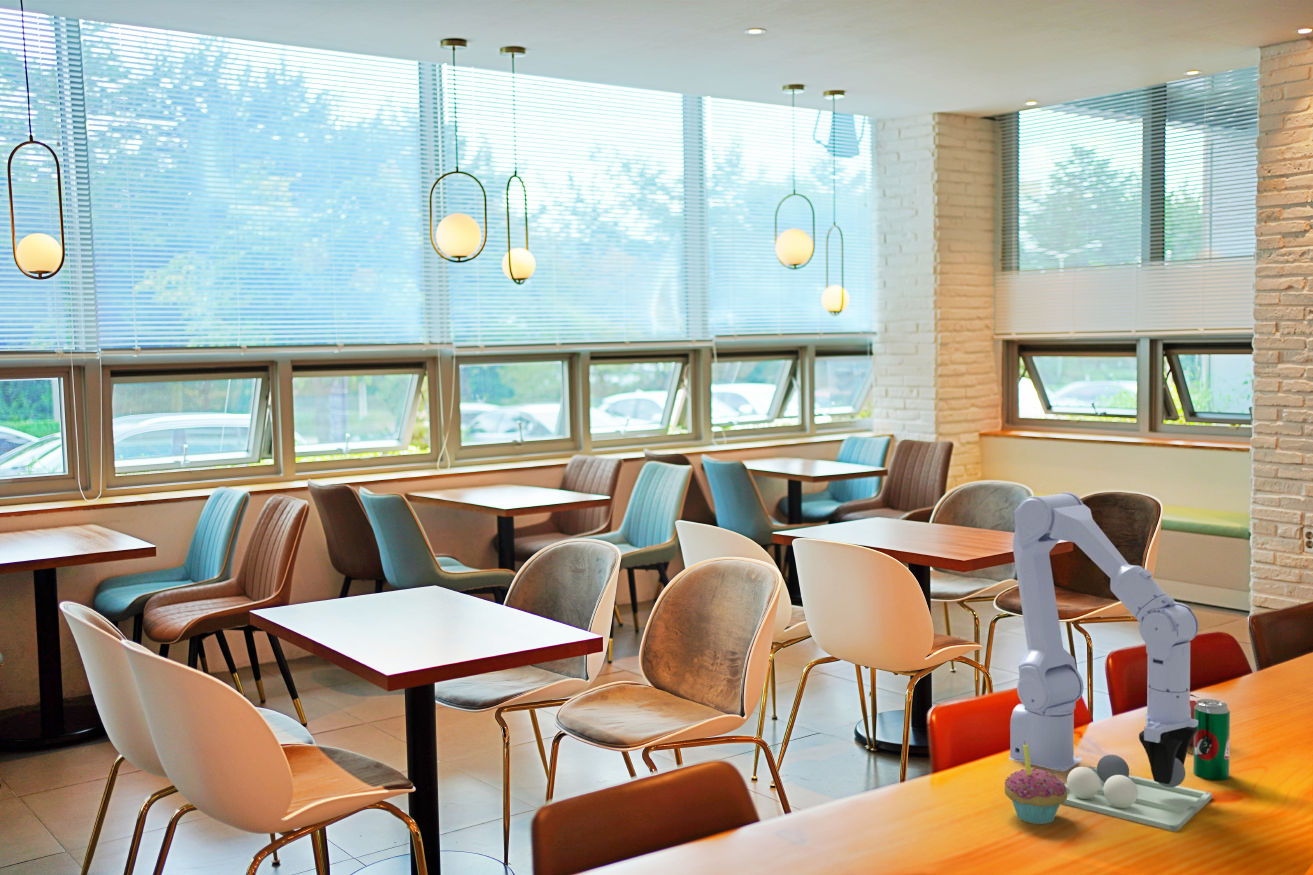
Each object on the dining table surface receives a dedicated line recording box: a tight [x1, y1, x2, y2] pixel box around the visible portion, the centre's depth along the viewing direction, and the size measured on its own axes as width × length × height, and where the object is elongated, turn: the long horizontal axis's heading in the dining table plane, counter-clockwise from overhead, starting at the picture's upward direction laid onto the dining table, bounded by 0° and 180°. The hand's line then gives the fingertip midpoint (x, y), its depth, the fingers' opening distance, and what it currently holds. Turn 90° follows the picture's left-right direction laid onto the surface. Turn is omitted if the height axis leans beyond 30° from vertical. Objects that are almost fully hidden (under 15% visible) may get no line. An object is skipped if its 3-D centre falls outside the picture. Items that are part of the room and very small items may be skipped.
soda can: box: [1192, 698, 1231, 782], centre depth 176 cm, size 5×5×12 cm
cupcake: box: [1004, 740, 1067, 825], centre depth 161 cm, size 9×8×12 cm
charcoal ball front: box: [1150, 757, 1186, 787], centre depth 167 cm, size 5×5×5 cm
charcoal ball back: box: [1096, 754, 1130, 783], centre depth 172 cm, size 5×5×5 cm
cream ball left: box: [1066, 766, 1100, 799], centre depth 167 cm, size 5×5×5 cm
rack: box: [1061, 766, 1213, 833], centre depth 167 cm, size 18×16×1 cm
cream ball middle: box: [1103, 775, 1138, 808], centre depth 164 cm, size 5×5×5 cm
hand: (1167, 777), depth 167 cm, fingers closed on charcoal ball front, 4 cm apart
